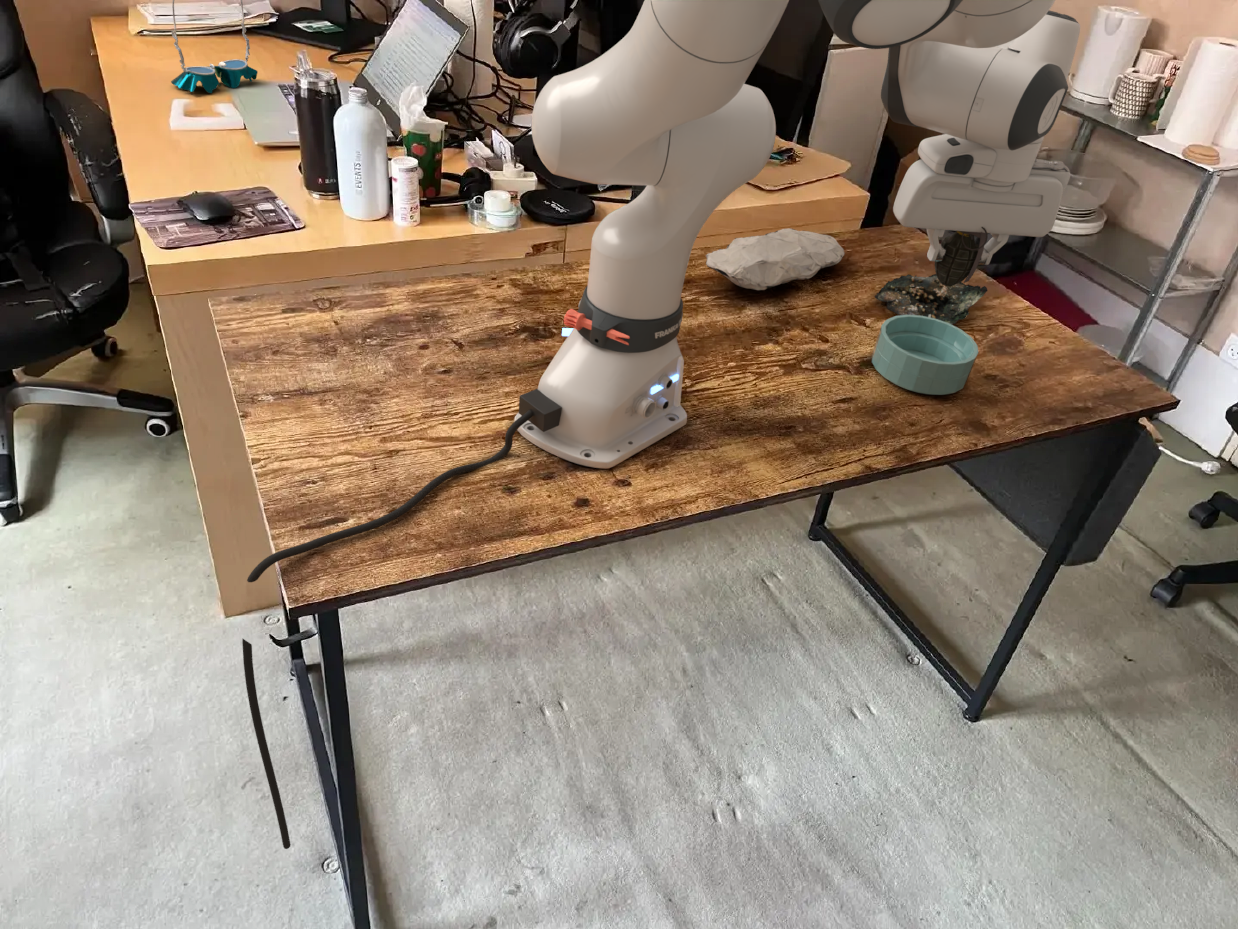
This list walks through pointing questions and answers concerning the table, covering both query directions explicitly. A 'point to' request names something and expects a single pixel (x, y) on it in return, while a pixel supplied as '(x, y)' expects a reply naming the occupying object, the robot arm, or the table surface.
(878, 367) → the bowl
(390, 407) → the table surface
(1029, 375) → the table surface
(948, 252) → the grenade
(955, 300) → the decorative rock
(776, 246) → the stone
